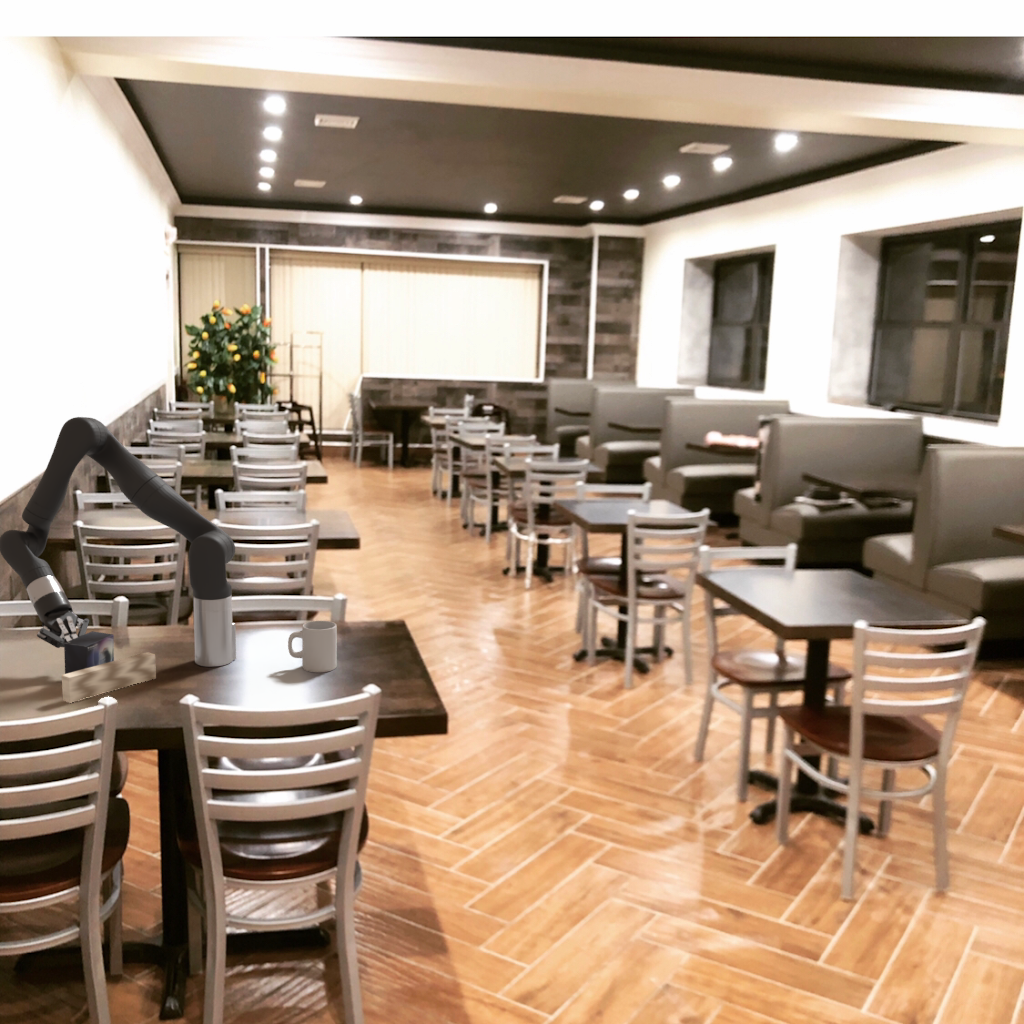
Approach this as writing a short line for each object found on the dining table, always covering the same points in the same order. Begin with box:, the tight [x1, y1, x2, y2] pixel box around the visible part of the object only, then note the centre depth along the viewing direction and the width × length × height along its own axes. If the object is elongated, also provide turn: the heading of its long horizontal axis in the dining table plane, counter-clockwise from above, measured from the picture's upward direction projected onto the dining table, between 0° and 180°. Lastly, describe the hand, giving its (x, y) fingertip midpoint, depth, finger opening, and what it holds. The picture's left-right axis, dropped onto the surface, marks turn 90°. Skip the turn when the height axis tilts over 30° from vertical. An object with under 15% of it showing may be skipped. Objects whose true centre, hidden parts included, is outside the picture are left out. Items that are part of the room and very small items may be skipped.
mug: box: [287, 620, 338, 673], centre depth 252 cm, size 12×8×11 cm
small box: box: [63, 630, 115, 674], centre depth 238 cm, size 11×6×10 cm, turn 166°
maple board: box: [61, 651, 157, 704], centre depth 233 cm, size 22×3×6 cm, turn 144°
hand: (78, 658), depth 240 cm, fingers closed
